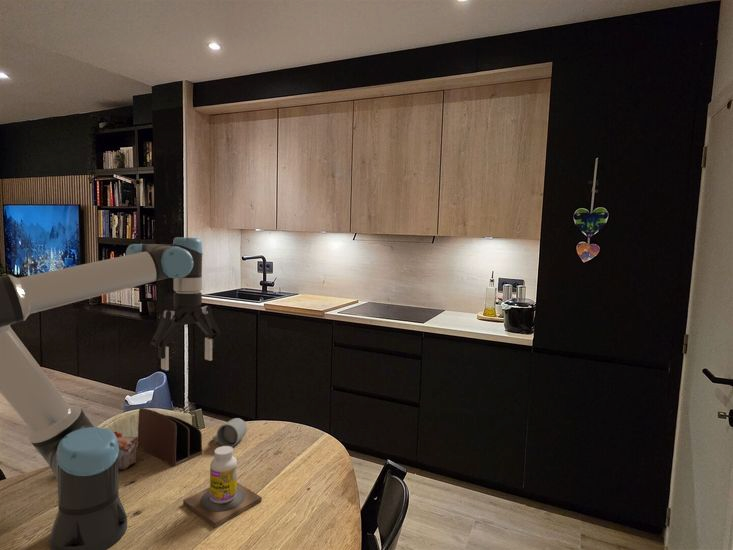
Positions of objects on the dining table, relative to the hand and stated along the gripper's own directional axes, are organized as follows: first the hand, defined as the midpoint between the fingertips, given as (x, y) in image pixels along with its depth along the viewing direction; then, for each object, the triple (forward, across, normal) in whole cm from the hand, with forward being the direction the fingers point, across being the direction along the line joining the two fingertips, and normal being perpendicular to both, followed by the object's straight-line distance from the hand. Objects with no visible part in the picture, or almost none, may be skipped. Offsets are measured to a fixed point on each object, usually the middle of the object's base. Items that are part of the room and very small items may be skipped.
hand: (187, 364), depth 129 cm
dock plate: (+32, +3, +22) cm, 39 cm away
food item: (+32, +13, -18) cm, 39 cm away
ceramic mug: (+32, -18, -6) cm, 37 cm away
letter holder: (+32, -2, -14) cm, 35 cm away
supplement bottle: (+30, +3, +22) cm, 38 cm away
